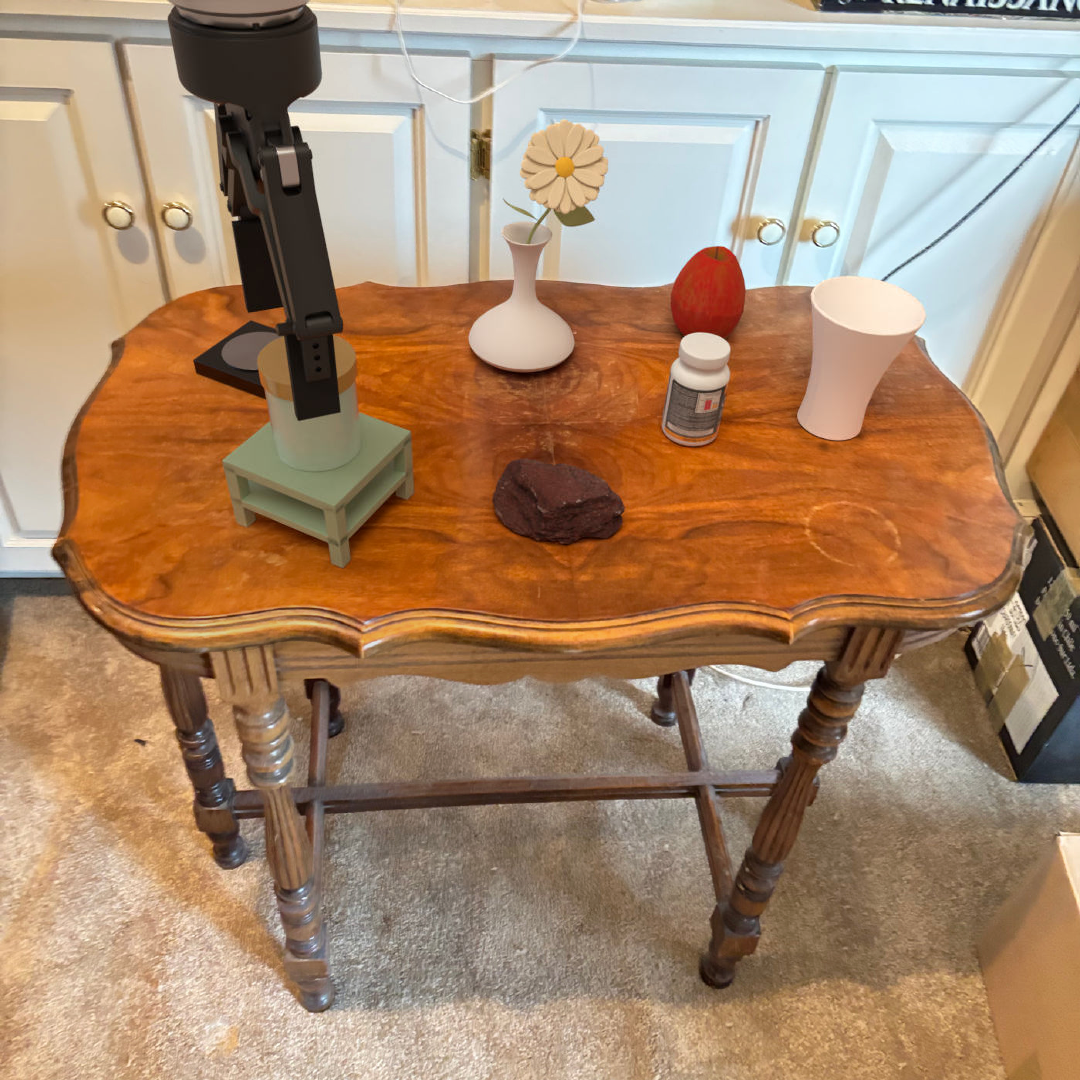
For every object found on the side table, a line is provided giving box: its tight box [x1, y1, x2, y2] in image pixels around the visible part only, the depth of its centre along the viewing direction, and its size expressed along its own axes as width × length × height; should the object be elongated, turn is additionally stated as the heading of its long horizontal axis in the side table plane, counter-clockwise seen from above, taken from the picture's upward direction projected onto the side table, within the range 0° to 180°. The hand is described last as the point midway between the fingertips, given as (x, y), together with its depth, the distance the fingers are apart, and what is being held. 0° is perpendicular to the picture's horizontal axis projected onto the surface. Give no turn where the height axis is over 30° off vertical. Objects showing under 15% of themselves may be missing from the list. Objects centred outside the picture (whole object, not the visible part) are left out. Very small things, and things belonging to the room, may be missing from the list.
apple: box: [670, 245, 747, 340], centre depth 103 cm, size 8×8×11 cm
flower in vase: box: [468, 118, 609, 373], centre depth 93 cm, size 13×11×25 cm
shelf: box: [221, 411, 415, 569], centre depth 80 cm, size 11×11×7 cm
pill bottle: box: [661, 333, 732, 447], centre depth 90 cm, size 6×6×10 cm
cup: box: [796, 275, 927, 441], centre depth 91 cm, size 10×10×14 cm
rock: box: [492, 458, 626, 545], centre depth 82 cm, size 11×6×8 cm
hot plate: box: [192, 319, 283, 400], centre depth 97 cm, size 9×9×2 cm
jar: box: [257, 334, 362, 472], centre depth 75 cm, size 7×7×8 cm
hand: (290, 357), depth 63 cm, fingers open, 13 cm apart
